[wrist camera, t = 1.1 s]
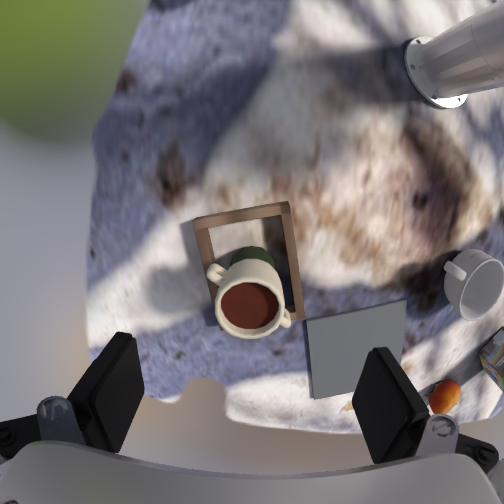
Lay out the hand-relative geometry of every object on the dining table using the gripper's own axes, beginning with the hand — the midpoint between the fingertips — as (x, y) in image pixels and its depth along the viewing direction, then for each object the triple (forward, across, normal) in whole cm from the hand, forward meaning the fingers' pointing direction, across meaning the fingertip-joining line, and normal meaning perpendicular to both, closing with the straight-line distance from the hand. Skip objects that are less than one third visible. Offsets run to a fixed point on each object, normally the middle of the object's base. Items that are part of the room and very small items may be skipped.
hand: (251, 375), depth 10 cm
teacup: (+29, -35, +4) cm, 46 cm away
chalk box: (+29, -58, +23) cm, 69 cm away
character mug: (+30, 0, +6) cm, 30 cm away
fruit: (+30, -44, +32) cm, 62 cm away
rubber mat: (+30, -20, +20) cm, 41 cm away
